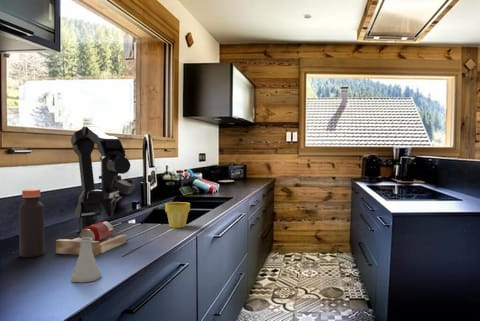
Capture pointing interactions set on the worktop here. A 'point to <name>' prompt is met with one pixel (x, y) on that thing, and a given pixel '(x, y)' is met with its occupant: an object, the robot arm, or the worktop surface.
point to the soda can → (98, 231)
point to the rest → (74, 245)
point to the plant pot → (177, 213)
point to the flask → (86, 264)
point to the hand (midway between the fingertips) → (110, 216)
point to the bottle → (31, 224)
